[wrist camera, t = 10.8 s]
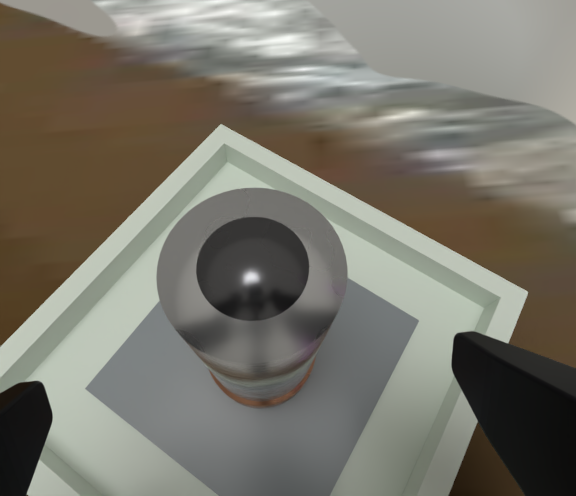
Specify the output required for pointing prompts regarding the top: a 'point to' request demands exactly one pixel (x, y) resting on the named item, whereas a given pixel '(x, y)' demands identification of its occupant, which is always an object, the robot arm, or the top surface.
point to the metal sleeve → (253, 290)
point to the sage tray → (222, 409)
